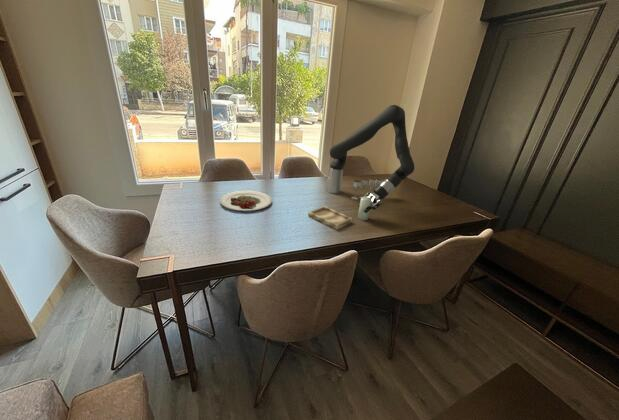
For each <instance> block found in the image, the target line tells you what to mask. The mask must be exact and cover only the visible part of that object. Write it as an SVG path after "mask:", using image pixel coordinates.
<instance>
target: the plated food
mask: <svg viewBox="0 0 619 420" xmlns="http://www.w3.org/2000/svg"><path fill="white" fill-rule="evenodd" d="M219 202H220V205H222V206H223V207H225V208H226V209H228V210H229V209H230V210H233V211H240V212H250V211H251V212H252V211H258V210H262V209H265V208H266V207H269V206H270V205H271V204H272V202H273V199H272V197H271V196H270V195H269V194H267V193H264V192H261V191H256V190H237V191H232V192H229V193H225V194H224V195H223V196H221V198H220V200H219Z"/></svg>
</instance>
